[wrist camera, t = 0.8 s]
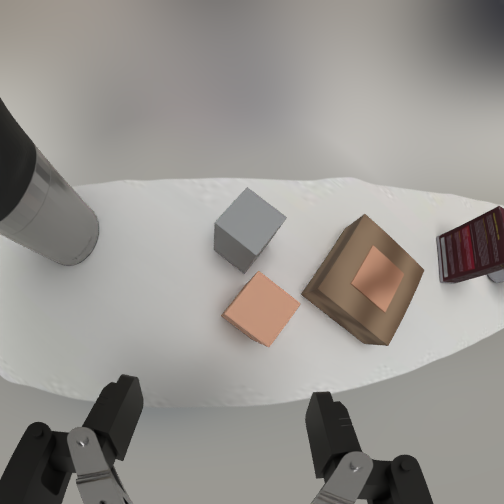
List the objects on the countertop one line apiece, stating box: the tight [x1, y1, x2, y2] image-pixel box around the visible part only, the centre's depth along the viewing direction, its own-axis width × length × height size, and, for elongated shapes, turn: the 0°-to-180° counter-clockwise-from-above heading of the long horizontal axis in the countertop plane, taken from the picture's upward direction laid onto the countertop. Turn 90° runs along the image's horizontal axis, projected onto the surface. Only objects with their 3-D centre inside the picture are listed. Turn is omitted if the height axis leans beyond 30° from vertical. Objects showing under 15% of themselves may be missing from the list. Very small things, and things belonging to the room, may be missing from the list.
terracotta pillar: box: [221, 271, 300, 347], centre depth 29 cm, size 5×5×10 cm
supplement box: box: [436, 206, 504, 283], centre depth 33 cm, size 9×5×16 cm, turn 176°
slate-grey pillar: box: [214, 188, 287, 274], centre depth 31 cm, size 5×5×10 cm
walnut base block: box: [301, 214, 424, 346], centre depth 34 cm, size 12×12×6 cm
